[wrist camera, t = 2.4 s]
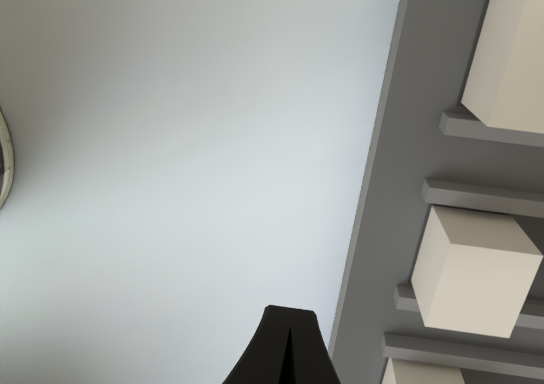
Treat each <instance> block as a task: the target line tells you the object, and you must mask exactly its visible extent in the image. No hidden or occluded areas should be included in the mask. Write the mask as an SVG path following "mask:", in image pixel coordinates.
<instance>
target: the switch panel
mask: <svg viewBox="0 0 544 384" xmlns="http://www.w3.org/2000/svg"><path fill="white" fill-rule="evenodd" d="M489 1H490V0H400V2H399V7H398V12H397V17H396V22H395V27H394V32H393V36H392V41H391V46H390V51H389V56H388V61H387V66H386V70H385V75H384V80H383V85H382V90H381V95H380V100H379V104H378V109H377V114H376V119H375V124H374V129H373V134H372V139H371V143H370V148H369V153H368V158H367V163H366V168H365V173H364V177H363V182H362V187H361V192H360V197H359V202H358V207H357V211H356V216H355V221H354V226H353V231H352V236H351V241H350V245H349V250H348V255H347V260H346V265H345V270H344V275H343V280H342V284H341V289H340V294H339V299H338V304H337V309H336V314H335V318H334V323H333V328H332V333H331V338H330V343H329V348H328V354H329V357H330V359H331V362H332V364H333V366H334V369H335V371H336V373H337V376H338V378H339V380H340V382H341V384H382V381H383V378H384V374H385V371H386V367H387V364H388V360H389V357H390V358H397V359H404V360H411V361H418V362H425V363H432V364H439V365H445V366H452V367H459V369H460V371H461V374H462V377H463V380H464V382H465V384H544V134H543V133H535V132H527V131H519V130H511V129H503V128H495V127H487V126H486V125H485V124H484V123H483V122H482V121H481V120H480V119H479V118H477V117H476V116H475V115H474V114H473V113H472V112H471V111H470V110H469V109H467V108H466V107H465V106H464V105H463V104H462V103H461V101H462V97H463V94H464V90H465V87H466V83H467V79H468V76H469V72H470V69H471V65H472V62H473V58H474V55H475V51H476V47H477V44H478V40H479V37H480V33H481V30H482V26H483V23H484V19H485V16H486V12H487V8H488V5H489ZM432 205H433V206H441V207H448V208H456V209H463V210H471V211H478V212H486V213H494V214H501V215H509V216H512V217H513V219H514V220H515V221H516V222H517V224H518V225H519V226H520V227H521V229H522V230H523V231H524V232H525V234H526V235H527V236H528V237H529V239H530V240H531V241H532V242H533V244H534V245H535V246H536V247H537V249H538V250H539V251H540V252H541V254H542V255H543V258H542V260H541V263H540V265H539V268H538V270H537V272H536V275H535V277H534V280H533V282H532V284H531V287H530V289H529V292H528V294H527V296H526V299H525V301H524V304H523V306H522V308H521V311H520V313H519V316H518V318H517V320H516V323H515V325H514V328H513V330H512V332H511V335H510V337H509V338H504V337H497V336H490V335H482V334H475V333H468V332H461V331H454V330H447V329H440V328H433V327H425V325H424V322H423V318H422V315H421V312H420V309H419V305H418V302H417V299H416V296H415V292H414V289H413V286H412V282H411V278H412V275H413V271H414V268H415V264H416V261H417V257H418V254H419V250H420V246H421V243H422V239H423V236H424V232H425V229H426V225H427V222H428V218H429V214H430V211H431V207H432Z"/></svg>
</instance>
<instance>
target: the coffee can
mask: <svg viewBox="0 0 544 384" xmlns="http://www.w3.org/2000/svg"><path fill="white" fill-rule="evenodd" d="M13 171H14V156H13V148H12V142H11V136H10V134H9V131H8V128H7V126H6V123H5V121H4V118H3V116H2V113H1V111H0V209H1V207H2V205H3V203H4V201H5V200H6V198H7V196H8V193H9V190H10V187H11V184H12V179H13Z"/></svg>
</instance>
